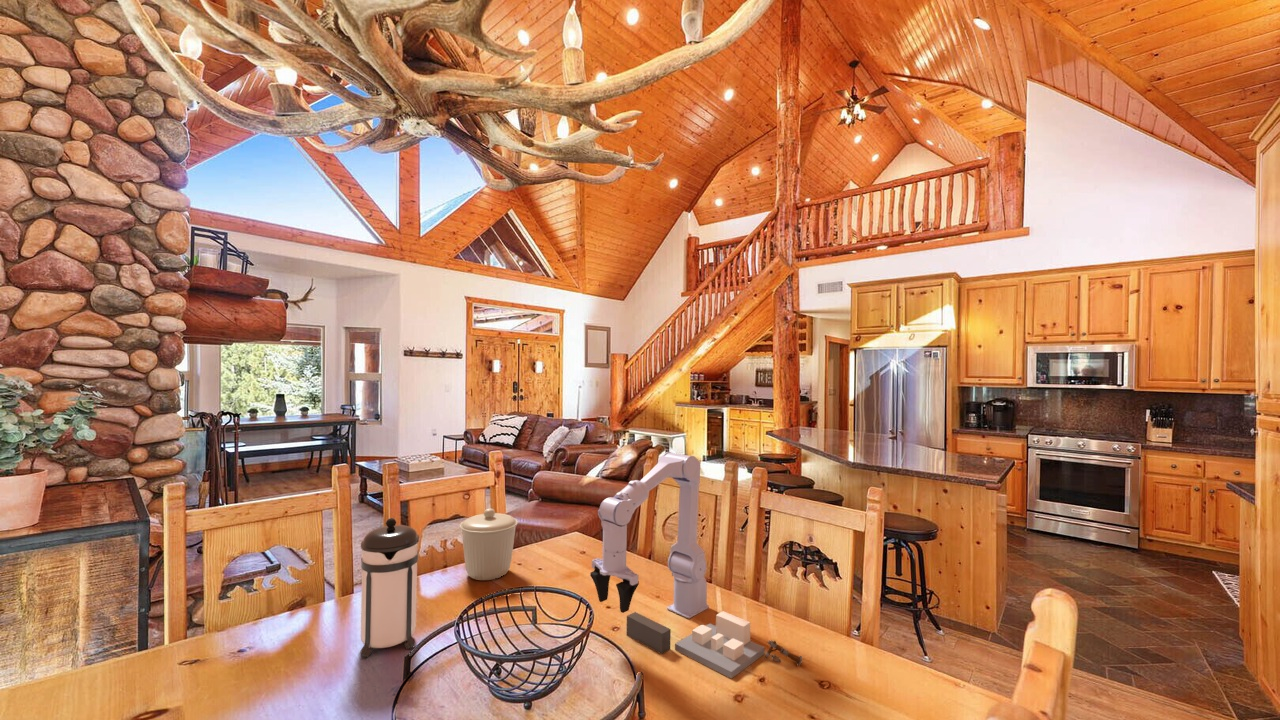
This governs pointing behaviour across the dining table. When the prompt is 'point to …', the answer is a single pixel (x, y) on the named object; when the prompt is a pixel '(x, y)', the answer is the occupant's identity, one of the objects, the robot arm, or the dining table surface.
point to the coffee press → (388, 587)
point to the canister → (488, 544)
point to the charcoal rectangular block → (648, 632)
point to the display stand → (722, 645)
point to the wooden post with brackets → (783, 651)
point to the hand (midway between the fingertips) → (613, 605)
